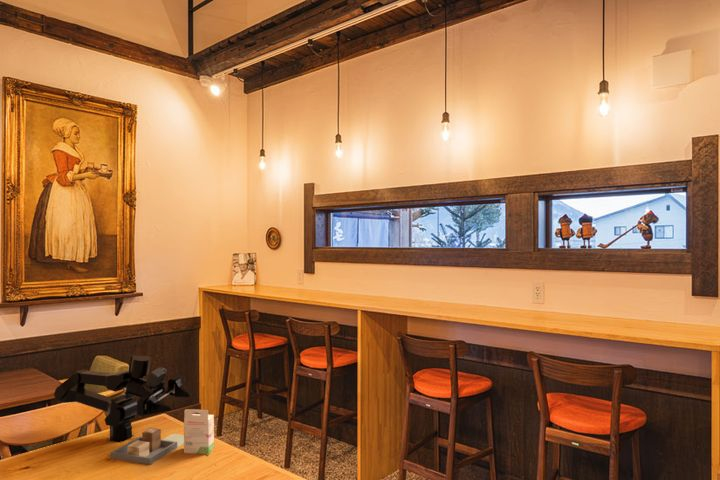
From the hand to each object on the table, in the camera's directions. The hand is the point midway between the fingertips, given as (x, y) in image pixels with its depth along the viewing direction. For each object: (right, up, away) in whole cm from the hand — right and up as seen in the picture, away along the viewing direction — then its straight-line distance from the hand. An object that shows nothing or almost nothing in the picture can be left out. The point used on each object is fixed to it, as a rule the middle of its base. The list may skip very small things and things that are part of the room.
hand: (181, 402), depth 162 cm
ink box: (+7, -16, -2) cm, 17 cm away
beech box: (-11, -15, -7) cm, 20 cm away
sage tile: (-4, -16, +6) cm, 17 cm away
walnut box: (-9, -15, -1) cm, 18 cm away
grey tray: (-10, -16, -4) cm, 19 cm away
